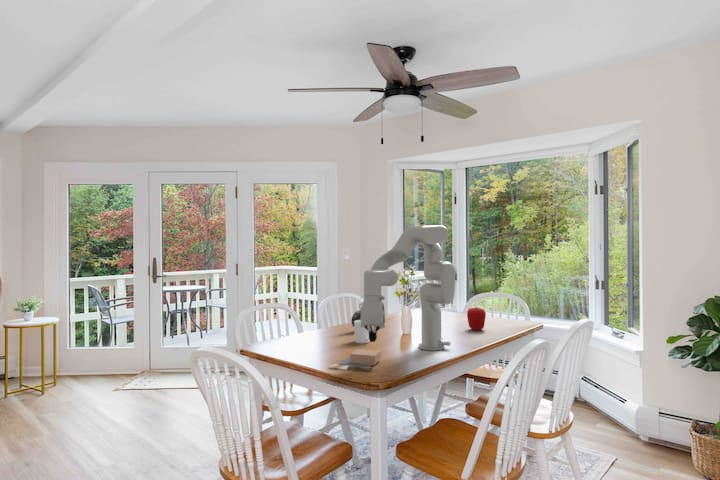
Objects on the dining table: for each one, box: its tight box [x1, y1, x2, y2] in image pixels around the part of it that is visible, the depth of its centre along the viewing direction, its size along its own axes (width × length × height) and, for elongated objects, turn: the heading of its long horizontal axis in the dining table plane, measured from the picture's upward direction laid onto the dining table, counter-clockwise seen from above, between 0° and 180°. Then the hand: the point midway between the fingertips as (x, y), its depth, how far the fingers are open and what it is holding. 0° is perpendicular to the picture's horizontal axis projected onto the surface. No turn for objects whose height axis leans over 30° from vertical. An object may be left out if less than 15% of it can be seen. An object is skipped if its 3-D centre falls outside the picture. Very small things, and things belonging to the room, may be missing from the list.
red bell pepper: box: [466, 306, 487, 331], centre depth 266 cm, size 11×10×14 cm
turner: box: [328, 363, 373, 372], centre depth 189 cm, size 18×5×1 cm, turn 71°
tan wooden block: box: [349, 348, 382, 366], centre depth 199 cm, size 4×9×11 cm
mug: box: [353, 320, 371, 345], centre depth 236 cm, size 9×12×11 cm
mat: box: [338, 355, 374, 367], centre depth 199 cm, size 14×14×1 cm
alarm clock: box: [351, 302, 363, 328], centre depth 263 cm, size 11×5×16 cm, turn 121°
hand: (372, 341), depth 197 cm, fingers closed
